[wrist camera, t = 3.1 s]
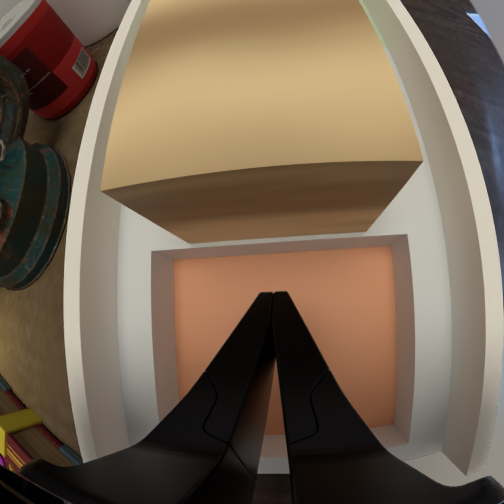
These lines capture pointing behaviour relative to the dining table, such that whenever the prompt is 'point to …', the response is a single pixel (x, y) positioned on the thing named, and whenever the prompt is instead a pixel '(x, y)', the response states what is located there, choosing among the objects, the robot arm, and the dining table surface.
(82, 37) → the candle holder
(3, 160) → the lantern
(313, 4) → the wooden block
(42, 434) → the decorative book
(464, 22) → the dining table surface
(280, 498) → the dining table surface
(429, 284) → the tray
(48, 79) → the canned food
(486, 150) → the dining table surface
